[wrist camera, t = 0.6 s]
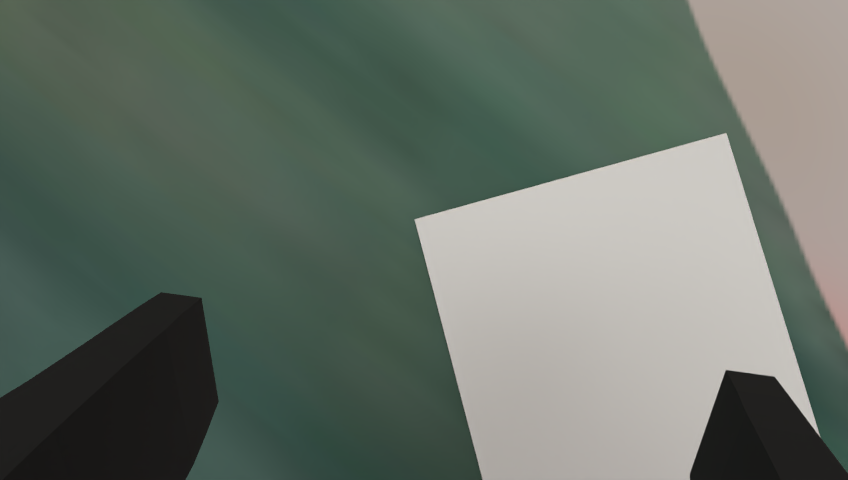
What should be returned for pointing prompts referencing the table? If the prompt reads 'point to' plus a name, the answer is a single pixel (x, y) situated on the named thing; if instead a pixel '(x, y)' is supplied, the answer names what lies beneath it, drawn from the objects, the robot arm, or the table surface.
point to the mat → (606, 315)
